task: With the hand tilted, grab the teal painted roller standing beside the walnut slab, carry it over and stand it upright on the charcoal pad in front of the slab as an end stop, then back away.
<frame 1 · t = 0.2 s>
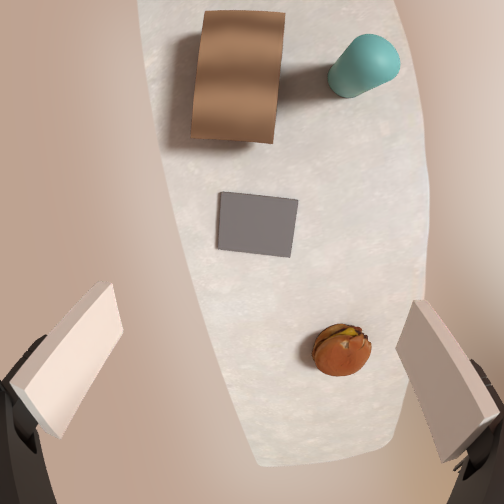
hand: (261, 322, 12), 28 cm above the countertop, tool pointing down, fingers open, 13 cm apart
slab: (243, 80, 32), on the countertop
burger: (339, 343, 46), on the countertop
roller: (346, 80, 31), on the countertop
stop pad: (257, 224, 39), on the countertop
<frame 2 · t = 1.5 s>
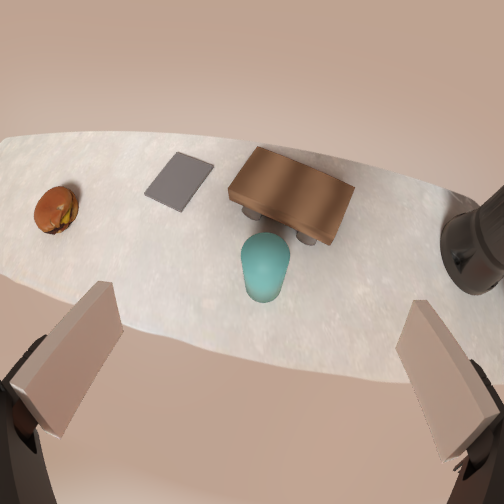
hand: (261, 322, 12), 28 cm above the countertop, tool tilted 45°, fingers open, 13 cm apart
slab: (289, 208, 45), on the countertop
burger: (61, 215, 47), on the countertop
roller: (263, 285, 41), on the countertop
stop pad: (179, 181, 48), on the countertop
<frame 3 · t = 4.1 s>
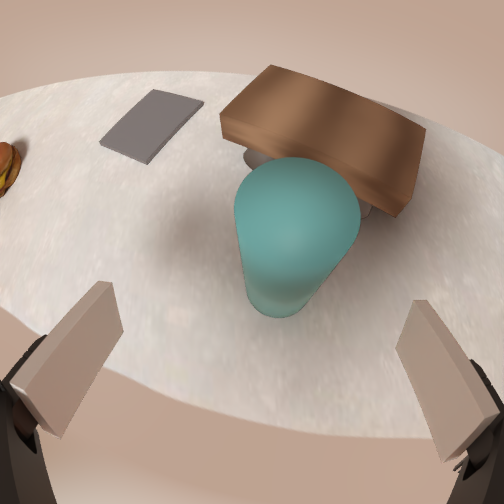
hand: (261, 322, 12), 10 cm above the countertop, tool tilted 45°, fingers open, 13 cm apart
slab: (321, 159, 27), on the countertop
burger: (2, 180, 28), on the countertop
roller: (278, 285, 22), on the countertop
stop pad: (150, 123, 29), on the countertop
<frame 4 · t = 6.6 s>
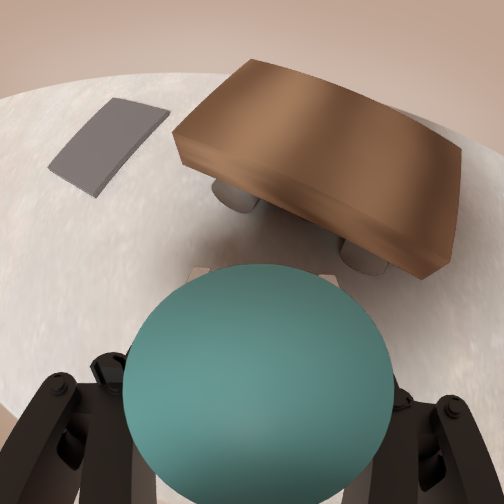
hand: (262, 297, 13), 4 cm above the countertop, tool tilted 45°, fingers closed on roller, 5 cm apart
slab: (319, 188, 20), on the countertop
roller: (257, 373, 16), on the countertop, touching gripper
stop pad: (105, 141, 23), on the countertop
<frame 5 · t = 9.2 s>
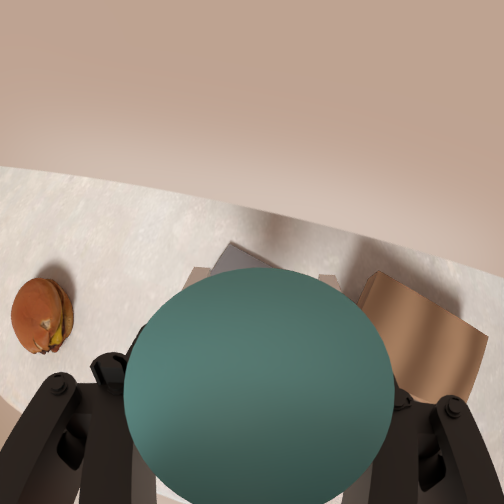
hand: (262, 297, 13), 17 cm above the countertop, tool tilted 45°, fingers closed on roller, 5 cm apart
slab: (399, 352, 28), on the countertop
burger: (50, 318, 30), on the countertop
roller: (257, 375, 16), point 13 cm above the countertop, touching gripper
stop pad: (237, 301, 31), on the countertop
when the fingers open (6 cm above the countertop, at t = 12.2 s): roller drops 1 cm, resting on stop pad.
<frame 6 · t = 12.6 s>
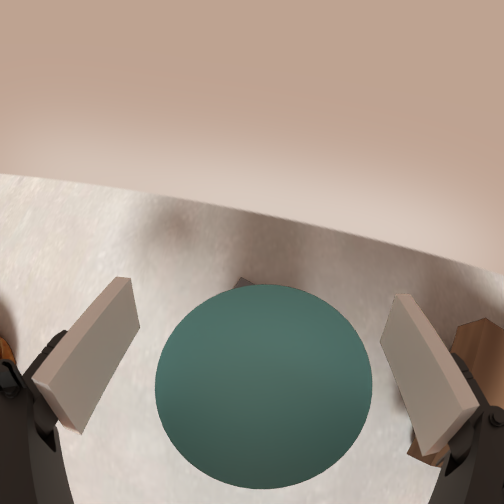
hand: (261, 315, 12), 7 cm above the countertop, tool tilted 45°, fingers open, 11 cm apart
slab: (478, 413, 15), on the countertop
roller: (258, 374, 17), point 1 cm above the countertop, touching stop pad
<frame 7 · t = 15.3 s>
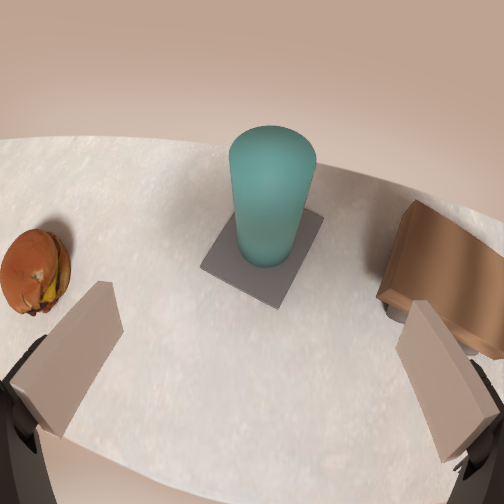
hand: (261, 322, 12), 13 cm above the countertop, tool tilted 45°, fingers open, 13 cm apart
slab: (439, 297, 25), on the countertop
burger: (44, 277, 27), on the countertop
roller: (265, 242, 27), point 1 cm above the countertop, touching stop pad
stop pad: (264, 243, 28), on the countertop
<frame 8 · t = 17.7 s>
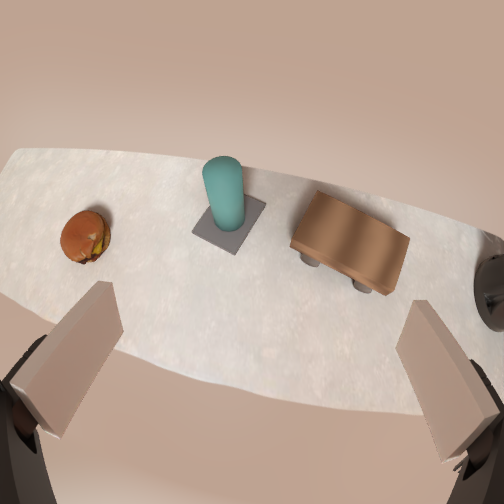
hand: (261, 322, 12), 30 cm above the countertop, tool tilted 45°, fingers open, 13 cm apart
slab: (344, 253, 44), on the countertop
burger: (90, 241, 46), on the countertop
roller: (229, 217, 46), point 1 cm above the countertop, touching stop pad
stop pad: (229, 219, 47), on the countertop
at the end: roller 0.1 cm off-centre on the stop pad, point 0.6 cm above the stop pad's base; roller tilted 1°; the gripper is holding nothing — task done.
